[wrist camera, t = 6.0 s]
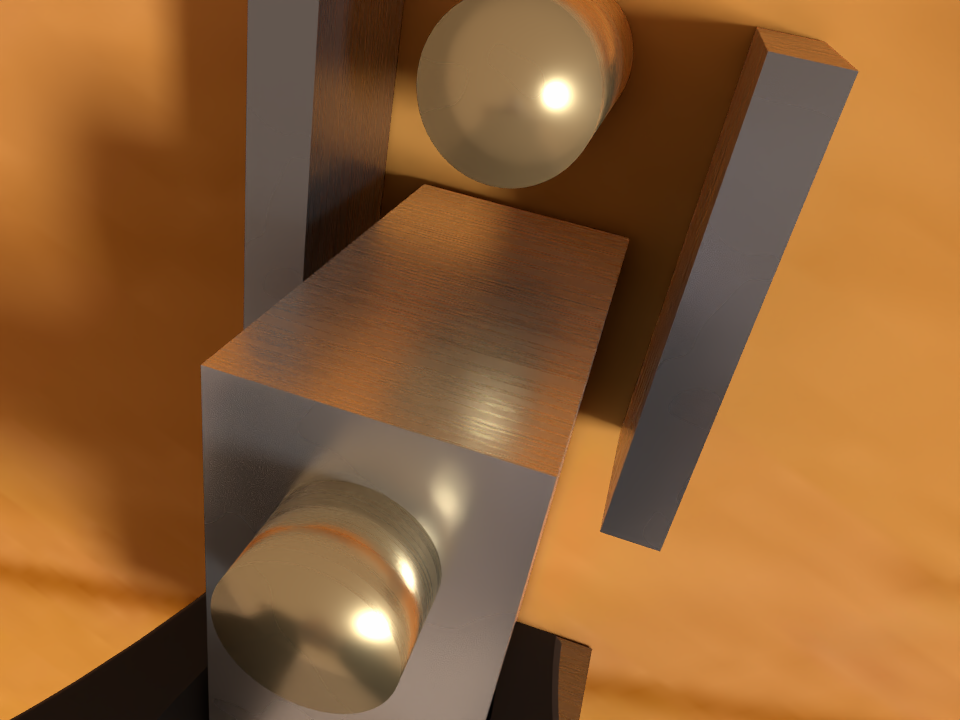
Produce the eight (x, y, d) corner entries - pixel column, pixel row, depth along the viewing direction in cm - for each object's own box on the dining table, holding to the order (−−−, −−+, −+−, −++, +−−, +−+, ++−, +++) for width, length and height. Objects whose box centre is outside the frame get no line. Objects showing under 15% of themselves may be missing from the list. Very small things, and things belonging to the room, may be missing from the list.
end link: (670, 444, 12) (657, 578, 9) (321, 338, 13) (222, 434, 10) (828, 32, 9) (873, 67, 6) (351, -71, 10) (222, -77, 7)
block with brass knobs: (488, 717, 16) (367, 1120, 11) (357, 669, 16) (175, 1031, 11) (629, 238, 10) (528, 570, 5) (423, 184, 11) (117, 432, 5)
